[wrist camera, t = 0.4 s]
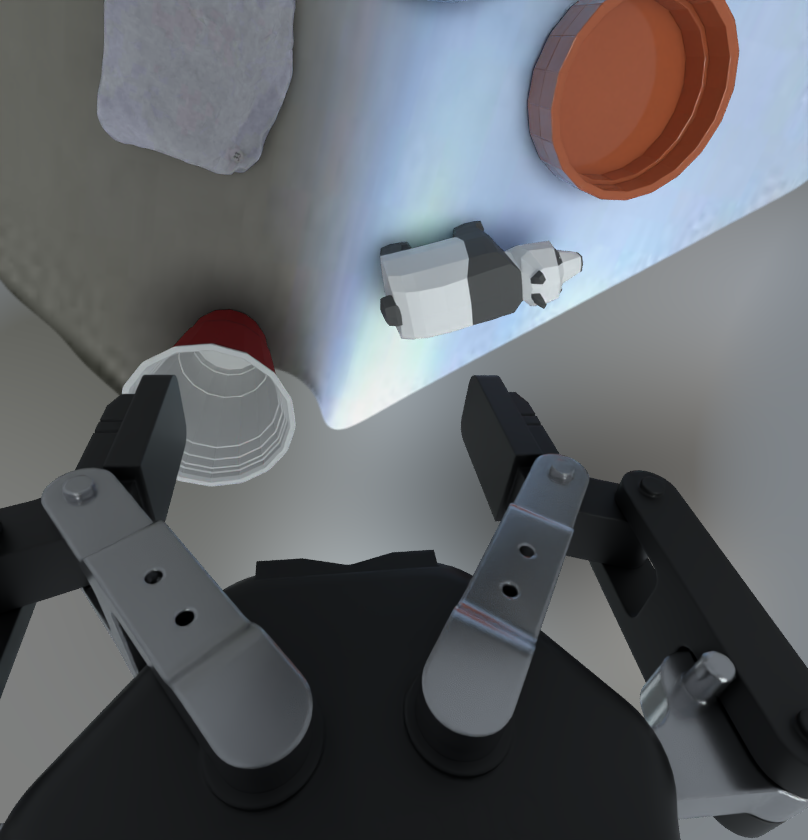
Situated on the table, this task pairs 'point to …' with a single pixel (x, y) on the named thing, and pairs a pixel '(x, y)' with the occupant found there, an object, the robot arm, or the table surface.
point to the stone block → (196, 77)
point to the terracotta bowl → (631, 91)
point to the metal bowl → (449, 0)
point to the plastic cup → (226, 399)
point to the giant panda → (467, 281)
